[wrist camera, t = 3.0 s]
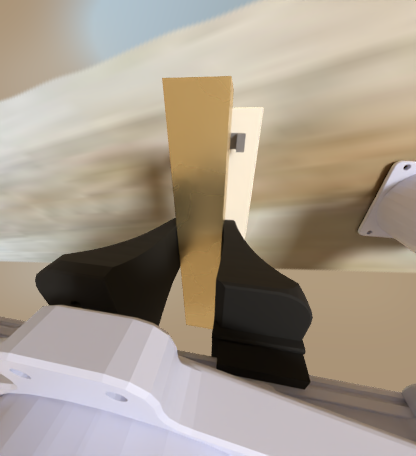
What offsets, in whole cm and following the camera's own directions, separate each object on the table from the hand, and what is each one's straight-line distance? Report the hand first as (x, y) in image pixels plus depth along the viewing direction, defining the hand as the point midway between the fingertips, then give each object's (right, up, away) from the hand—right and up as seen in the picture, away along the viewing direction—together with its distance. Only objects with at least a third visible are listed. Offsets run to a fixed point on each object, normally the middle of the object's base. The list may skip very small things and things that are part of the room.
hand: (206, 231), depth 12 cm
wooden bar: (0, 0, 0) cm, 0 cm away
